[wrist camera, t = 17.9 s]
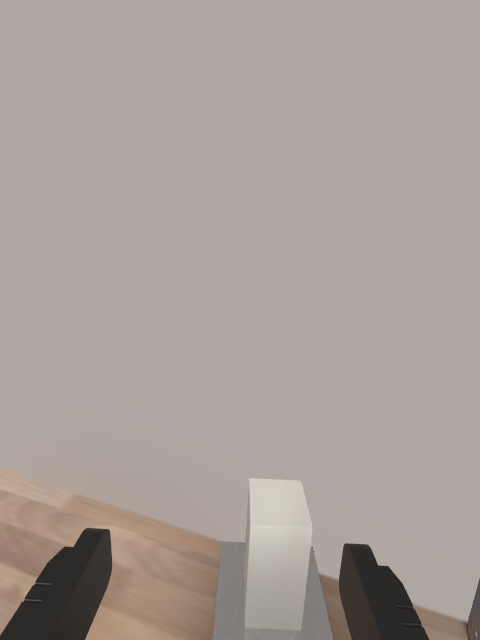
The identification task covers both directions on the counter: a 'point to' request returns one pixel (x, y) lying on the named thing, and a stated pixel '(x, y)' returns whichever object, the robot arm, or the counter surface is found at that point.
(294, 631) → the block
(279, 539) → the cream block
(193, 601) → the counter surface
